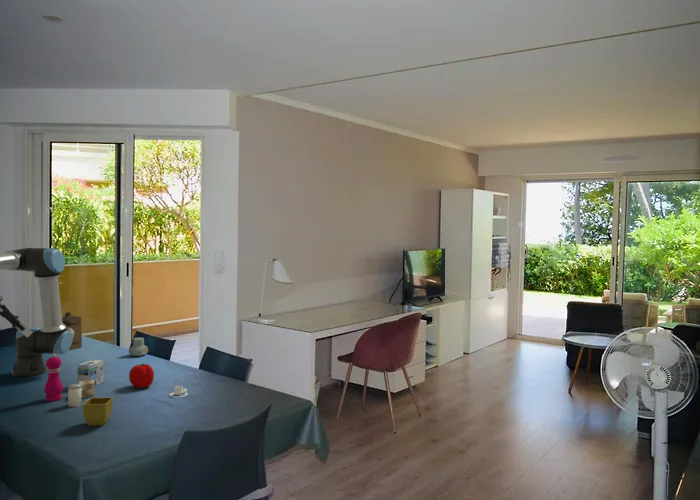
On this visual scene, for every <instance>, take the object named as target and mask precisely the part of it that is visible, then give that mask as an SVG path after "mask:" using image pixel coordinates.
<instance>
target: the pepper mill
mask: <svg viewBox="0 0 700 500" xmlns="http://www.w3.org/2000/svg"><path fill="white" fill-rule="evenodd" d="M50 356H51V357H49V358H47V359H46V362H45V365H46V372H47V373H48V376H47V377H48V378H47V380H46V383H45V385H44V390H43V392H44V393H45V401H47V402H56V401H59V400H61V399H62V398H63V394H62V392H63V391H64V385H63V383H62V381H61V378H60V372H61V365H62V359H61V358H60V357H57V354H50Z"/></svg>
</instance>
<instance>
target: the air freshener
mask: <svg viewBox="0 0 700 500" xmlns="http://www.w3.org/2000/svg"><path fill="white" fill-rule="evenodd" d="M148 352H149V347H148V346H147V345H145V339H144V337H134V338H133V339H132V346H130V347H129V349H128V354H129V355H131V356H133V357H143V356H142V355H144V356H145V355H146V354H147V353H148Z"/></svg>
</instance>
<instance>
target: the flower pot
mask: <svg viewBox="0 0 700 500" xmlns="http://www.w3.org/2000/svg"><path fill="white" fill-rule="evenodd" d="M113 404H114V397H89V399H87V400H86V401H84V403H81V405H82V412H83V417H84V421H85V422H86V424H87V425H88V427H89V426H93V427H94V426H97V427H98V426H99V427H100V426H103V425H105V424H106V423H107V422H108V420H109V418H110V417H111V414H112V411H113V410H112V409H113Z"/></svg>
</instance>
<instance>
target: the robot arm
mask: <svg viewBox="0 0 700 500" xmlns="http://www.w3.org/2000/svg"><path fill="white" fill-rule="evenodd" d="M65 266H66V259H65V256H64V254H63V252H62V251H61V250H59V249H57V248H52V247H51V248H50V247H25V248H24V247H23V248H18V249H13V250H7V251H4V252H3V253H0V271H4V270H7V271H9V272H10V271H12V272H13V271H19V272H20V271H22V272H23V271H24V272H33V276H34V278H35V279H36V280H38V289H39V299H40V307H41V317H42V326H32V327H31V326H30V327H28V325H26V323H24V322H23V321H22V320H21V319H20V316H19V315H15V314H14V313H12V312H11V311H10V309H9V308H7V306H6V305H5V304H2V303H1V302H2V301H3V299H4V297H3V296H1V295H0V316H1V317H2V318H4V319H5V320H6V321H8V322H9V324H11V325H12V326H11V328H13V329H14V328H15V329H16V330H17V331H16V335H15V362H14V363H13V364H14V365H13V367H12V370H11V375H12V376H13V377H22V378H23V377H27V378H28V377H34V376H39V375H43V374H45V373H46V372H47V366H46V362H45V360H44V357H43V354H44V355H45V354H47V355H52V354H56V355H63V354H65V353H67V352H68V351H69V348H70V346H71V344H72V340H73V336H72V333H71V332H70V331H67V329H66V325H64V324H63V323H62V317H63V315H62V306H61V305H62V304H61V296H60V285H59V277H60V276H61V275H62V272H63V271H64V270H65V268H66V267H65Z"/></svg>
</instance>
